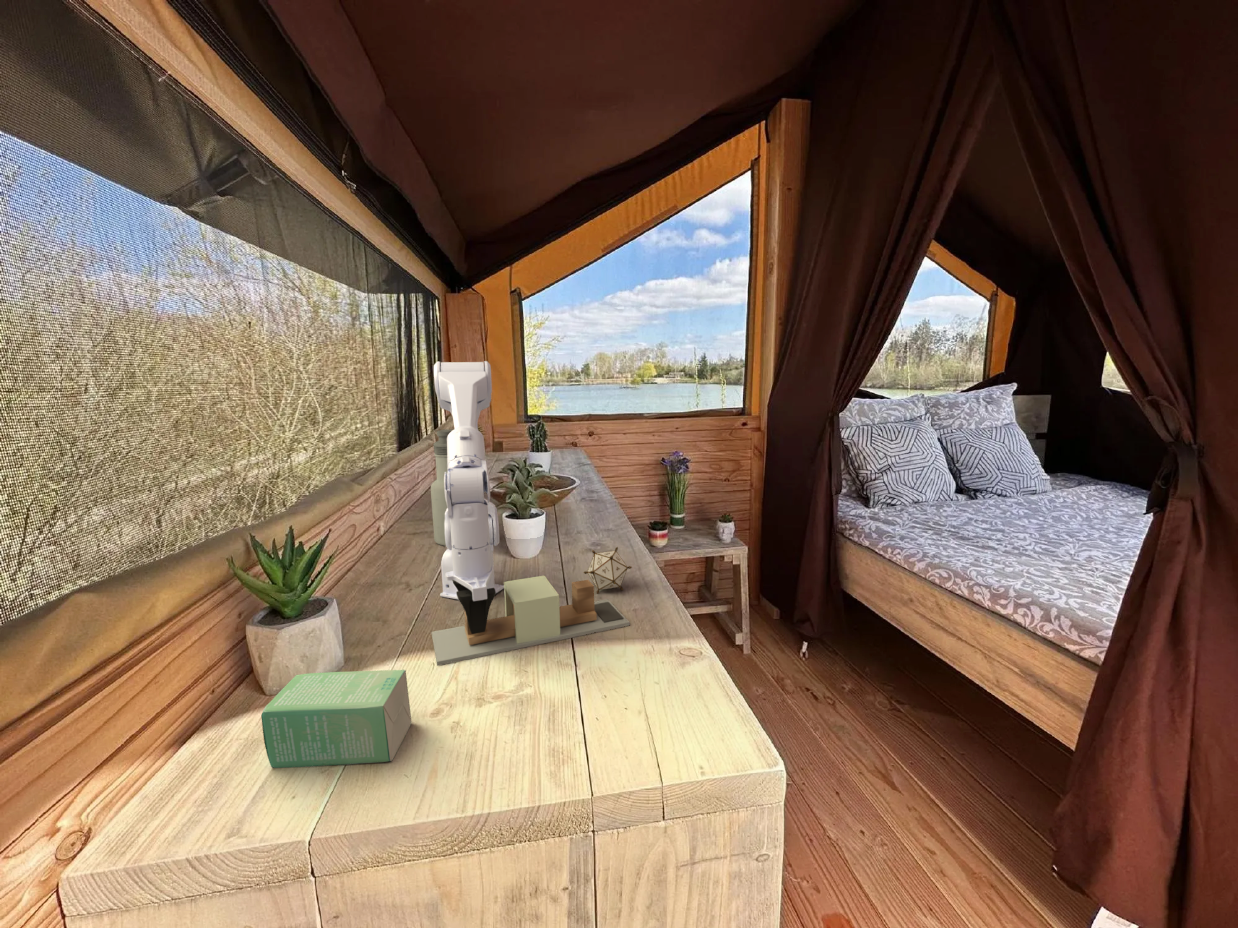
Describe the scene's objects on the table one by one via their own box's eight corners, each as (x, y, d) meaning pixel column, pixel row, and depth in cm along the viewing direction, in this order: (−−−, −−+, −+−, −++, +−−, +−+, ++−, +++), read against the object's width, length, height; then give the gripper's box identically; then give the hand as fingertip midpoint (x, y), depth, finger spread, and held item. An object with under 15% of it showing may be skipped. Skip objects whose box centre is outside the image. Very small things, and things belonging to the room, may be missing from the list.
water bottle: (445, 533, 143) (438, 427, 138) (481, 534, 142) (475, 427, 137) (427, 546, 133) (418, 432, 128) (465, 547, 132) (458, 432, 127)
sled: (469, 645, 84) (467, 610, 83) (465, 630, 89) (462, 597, 88) (596, 619, 92) (596, 588, 91) (586, 607, 97) (586, 577, 95)
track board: (437, 665, 80) (436, 661, 80) (431, 635, 89) (431, 631, 89) (629, 625, 92) (629, 622, 92) (607, 602, 101) (607, 599, 101)
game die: (614, 610, 106) (624, 583, 99) (574, 592, 107) (581, 564, 100) (630, 574, 112) (640, 547, 105) (592, 558, 113) (600, 529, 106)
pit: (604, 622, 92) (604, 621, 91) (590, 606, 98) (590, 605, 98) (623, 618, 93) (623, 617, 93) (608, 602, 99) (608, 601, 99)
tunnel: (517, 647, 85) (515, 602, 84) (505, 622, 93) (503, 581, 92) (560, 638, 88) (559, 595, 86) (545, 615, 96) (544, 575, 94)
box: (301, 725, 67) (294, 670, 66) (412, 722, 68) (408, 667, 66) (265, 769, 60) (257, 708, 58) (391, 765, 60) (385, 705, 59)
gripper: (439, 533, 89) (445, 611, 92) (448, 562, 76) (454, 652, 78) (483, 528, 92) (487, 603, 94) (499, 555, 79) (503, 642, 81)
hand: (475, 625), depth 86 cm, fingers open, 4 cm apart
